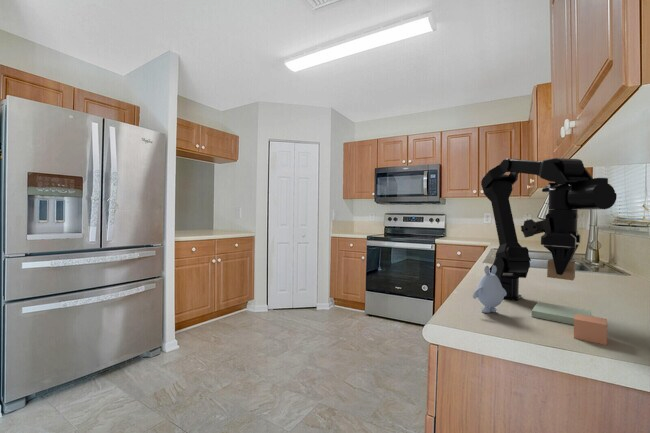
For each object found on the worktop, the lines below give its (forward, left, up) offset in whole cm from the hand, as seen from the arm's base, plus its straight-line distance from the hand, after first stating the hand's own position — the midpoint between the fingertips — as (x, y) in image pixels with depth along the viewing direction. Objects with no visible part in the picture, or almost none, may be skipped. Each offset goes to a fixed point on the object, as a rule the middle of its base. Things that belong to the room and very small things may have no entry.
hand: (560, 273), depth 76 cm
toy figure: (+9, -14, -11) cm, 20 cm away
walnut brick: (0, 0, -1) cm, 1 cm away
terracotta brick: (+12, +6, -11) cm, 18 cm away
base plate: (-1, 0, -11) cm, 11 cm away
